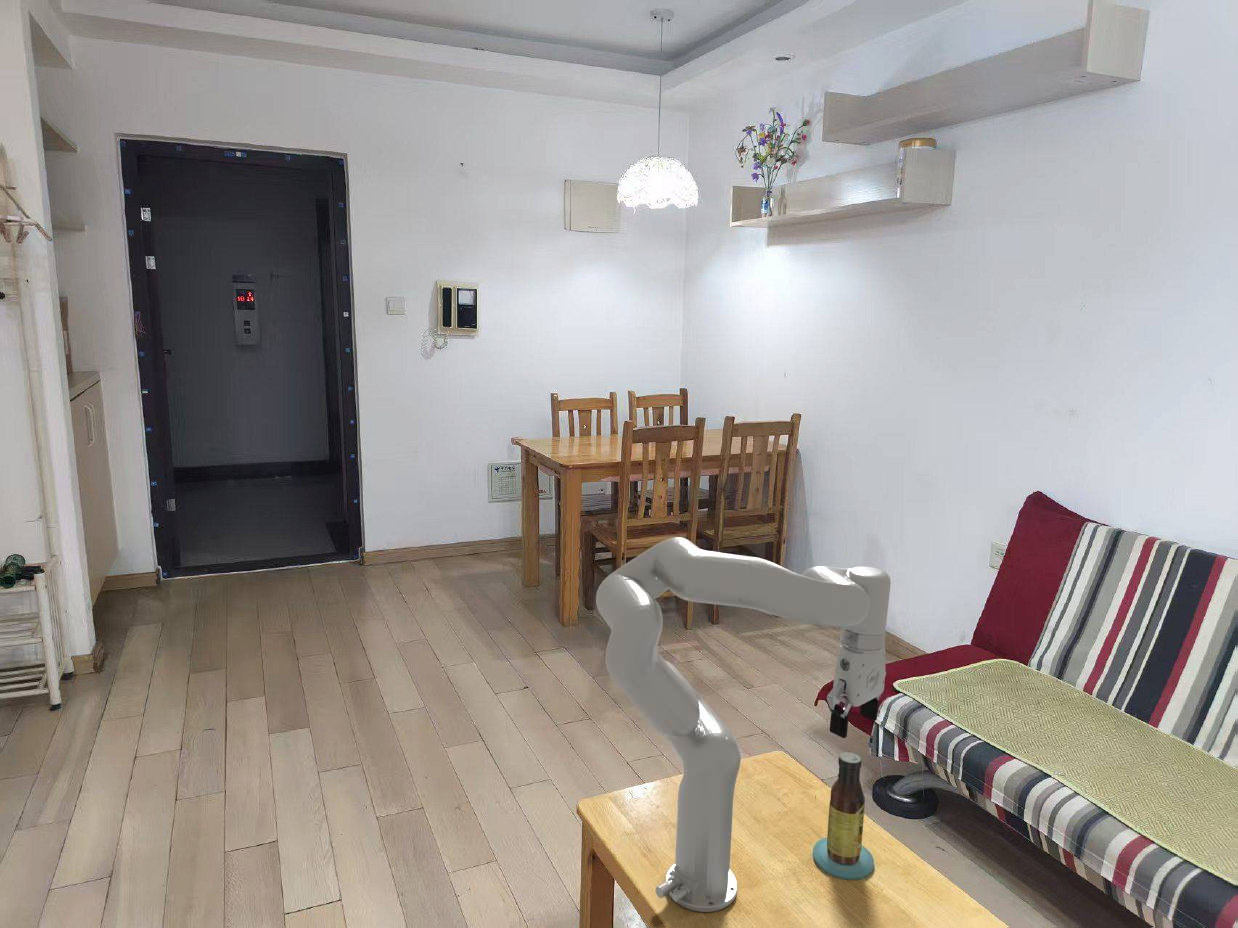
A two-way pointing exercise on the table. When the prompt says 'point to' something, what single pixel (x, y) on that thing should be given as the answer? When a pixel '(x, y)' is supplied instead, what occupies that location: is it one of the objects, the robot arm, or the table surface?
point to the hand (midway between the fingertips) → (853, 726)
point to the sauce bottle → (846, 812)
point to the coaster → (841, 870)
